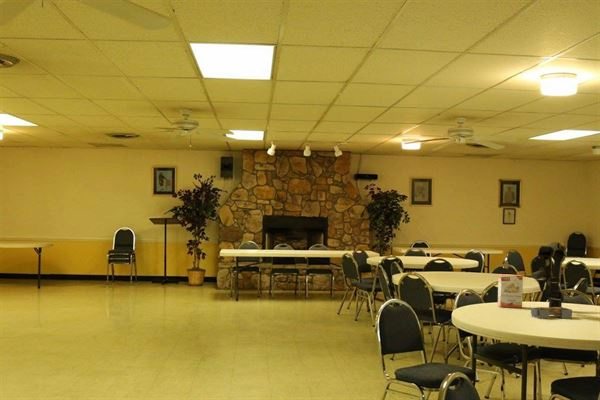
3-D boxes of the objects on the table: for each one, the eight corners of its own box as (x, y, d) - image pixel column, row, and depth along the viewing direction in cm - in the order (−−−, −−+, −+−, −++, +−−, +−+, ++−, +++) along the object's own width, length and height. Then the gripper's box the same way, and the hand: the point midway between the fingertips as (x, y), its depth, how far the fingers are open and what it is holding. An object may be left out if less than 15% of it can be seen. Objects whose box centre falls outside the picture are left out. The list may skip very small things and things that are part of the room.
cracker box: (500, 307, 356) (501, 274, 357) (497, 306, 362) (497, 273, 363) (522, 308, 355) (523, 275, 356) (519, 306, 362) (519, 274, 362)
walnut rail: (562, 314, 327) (562, 307, 327) (565, 315, 323) (565, 308, 324) (536, 314, 325) (536, 307, 325) (540, 315, 321) (540, 308, 321)
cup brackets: (564, 316, 329) (564, 307, 330) (573, 318, 322) (573, 309, 322) (530, 316, 326) (530, 307, 326) (537, 318, 318) (537, 309, 319)
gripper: (525, 265, 345) (525, 290, 345) (543, 268, 326) (543, 295, 326) (542, 265, 346) (542, 290, 346) (560, 268, 328) (560, 294, 328)
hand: (546, 292), depth 336 cm, fingers open, 9 cm apart
